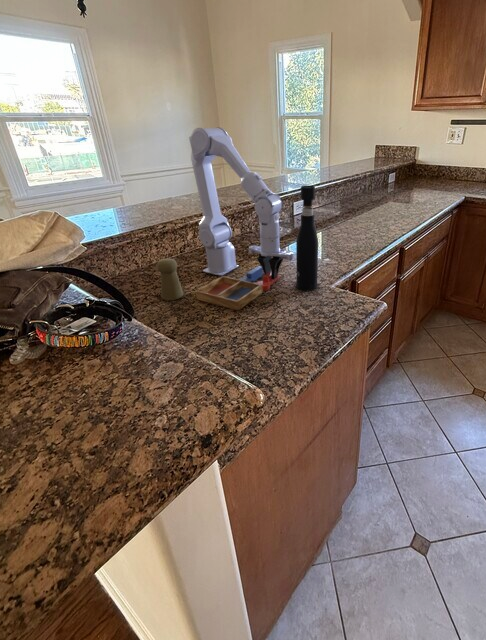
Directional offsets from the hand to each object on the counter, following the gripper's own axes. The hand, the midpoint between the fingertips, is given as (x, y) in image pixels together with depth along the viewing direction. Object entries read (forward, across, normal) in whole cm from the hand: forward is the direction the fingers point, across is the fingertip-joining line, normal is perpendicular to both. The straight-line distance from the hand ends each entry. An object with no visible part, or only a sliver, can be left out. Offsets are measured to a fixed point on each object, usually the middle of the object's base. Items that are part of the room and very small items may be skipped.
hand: (271, 277), depth 111 cm
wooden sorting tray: (+1, -6, -14) cm, 15 cm away
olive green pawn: (+2, -20, -21) cm, 30 cm away
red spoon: (+1, 0, -2) cm, 3 cm away
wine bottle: (+2, +12, +2) cm, 12 cm away
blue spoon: (+1, -6, -2) cm, 7 cm away
